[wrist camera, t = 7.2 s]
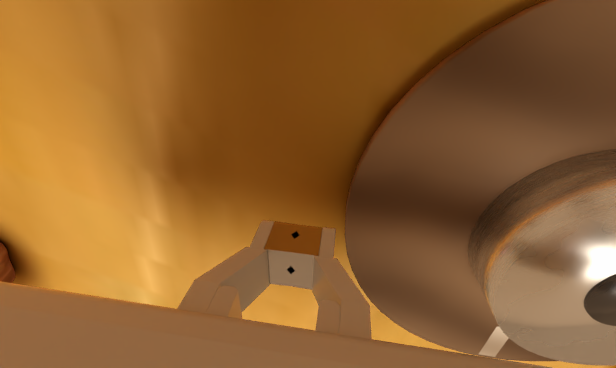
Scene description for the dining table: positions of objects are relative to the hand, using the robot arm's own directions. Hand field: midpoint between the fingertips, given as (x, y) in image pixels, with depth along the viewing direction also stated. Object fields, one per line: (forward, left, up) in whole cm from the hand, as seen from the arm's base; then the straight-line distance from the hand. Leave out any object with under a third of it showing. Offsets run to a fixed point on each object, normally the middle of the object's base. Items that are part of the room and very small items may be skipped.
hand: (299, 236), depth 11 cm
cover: (+1, +12, -3) cm, 13 cm away
